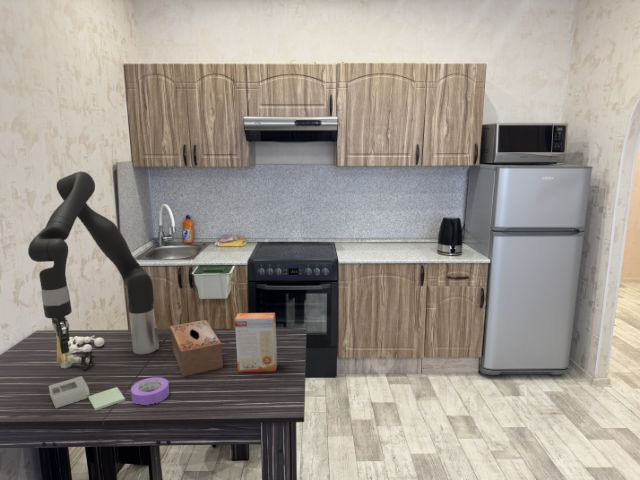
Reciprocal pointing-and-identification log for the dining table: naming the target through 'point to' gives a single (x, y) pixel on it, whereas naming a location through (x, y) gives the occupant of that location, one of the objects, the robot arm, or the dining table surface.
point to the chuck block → (69, 391)
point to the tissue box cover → (196, 347)
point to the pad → (106, 398)
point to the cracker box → (256, 342)
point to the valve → (79, 360)
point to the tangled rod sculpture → (81, 340)
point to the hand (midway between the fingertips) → (64, 350)
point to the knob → (61, 357)
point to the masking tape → (154, 396)
